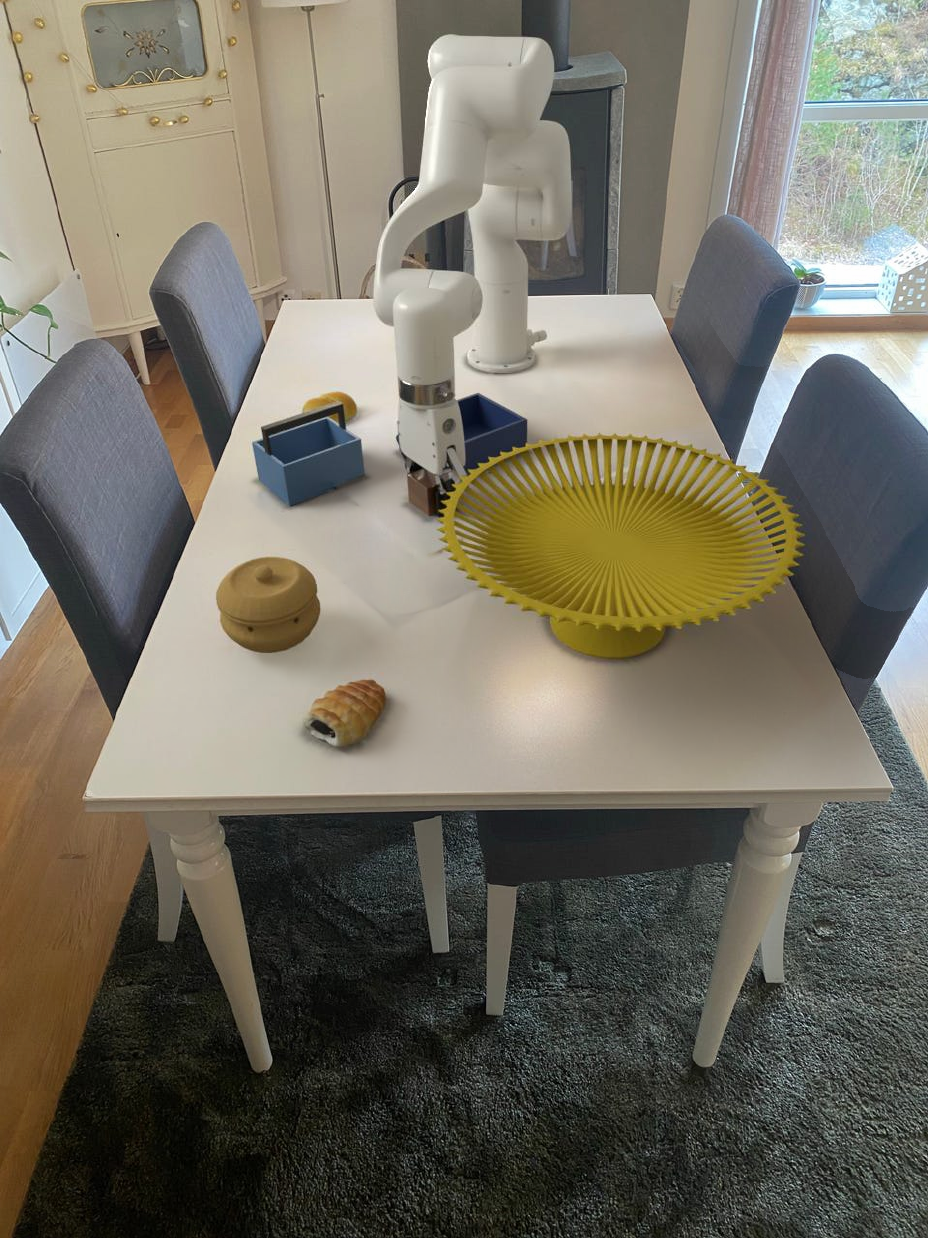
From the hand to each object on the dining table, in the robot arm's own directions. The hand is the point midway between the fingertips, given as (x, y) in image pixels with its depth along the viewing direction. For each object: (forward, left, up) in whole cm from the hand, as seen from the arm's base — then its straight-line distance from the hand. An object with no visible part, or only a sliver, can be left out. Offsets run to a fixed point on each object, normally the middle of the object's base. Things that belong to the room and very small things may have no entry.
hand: (432, 502), depth 136 cm
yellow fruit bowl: (-1, +35, -1) cm, 35 cm away
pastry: (+33, +30, -1) cm, 45 cm away
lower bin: (-13, -10, -1) cm, 16 cm away
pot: (+32, +12, -1) cm, 34 cm away
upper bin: (+10, -18, -1) cm, 20 cm away
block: (0, 0, -1) cm, 1 cm away
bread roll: (-3, -34, -1) cm, 34 cm away
